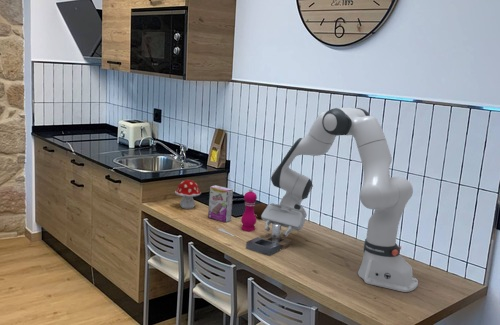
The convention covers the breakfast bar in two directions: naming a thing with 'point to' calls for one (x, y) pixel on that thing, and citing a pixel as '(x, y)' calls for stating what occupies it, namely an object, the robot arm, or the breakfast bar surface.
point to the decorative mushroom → (187, 193)
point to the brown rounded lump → (259, 209)
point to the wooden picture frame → (283, 241)
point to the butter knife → (225, 232)
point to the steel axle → (276, 232)
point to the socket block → (263, 246)
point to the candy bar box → (220, 203)
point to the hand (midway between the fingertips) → (275, 232)
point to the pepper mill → (249, 211)
